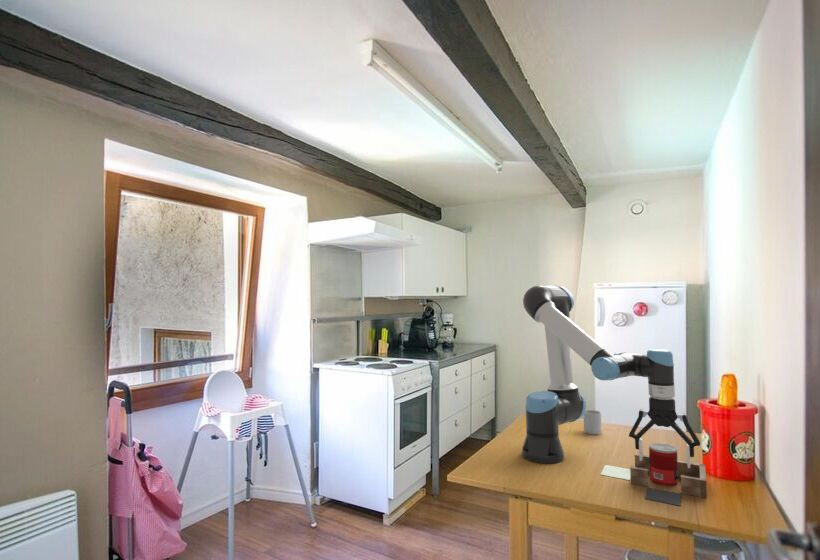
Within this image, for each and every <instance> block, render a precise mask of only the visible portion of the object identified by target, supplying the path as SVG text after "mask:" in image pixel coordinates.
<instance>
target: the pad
mask: <svg viewBox="0 0 820 560" xmlns="http://www.w3.org/2000/svg"><path fill="white" fill-rule="evenodd" d="M600 475H601V476H605V477H610V478H616V479H621V480H627V481H631V477H630V468H625V467H620V466H613V465H608V464H604V466H603V468H602V470H601V473H600Z"/></svg>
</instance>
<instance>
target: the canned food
mask: <svg viewBox="0 0 820 560" xmlns="http://www.w3.org/2000/svg"><path fill="white" fill-rule="evenodd" d="M648 451H649V452H648V456H649V461H650V472H649V477H650V480H651V481H652V482H653V483H655V484H659V485H660V486H661V485H662V486H670V487H671V486H676V485H677V484H678V483H679V482H678V481H679V477H678V463H677V460H678V449H677V447H675V446H673V445H670V444H665V443H651V444H649V447H648Z"/></svg>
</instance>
